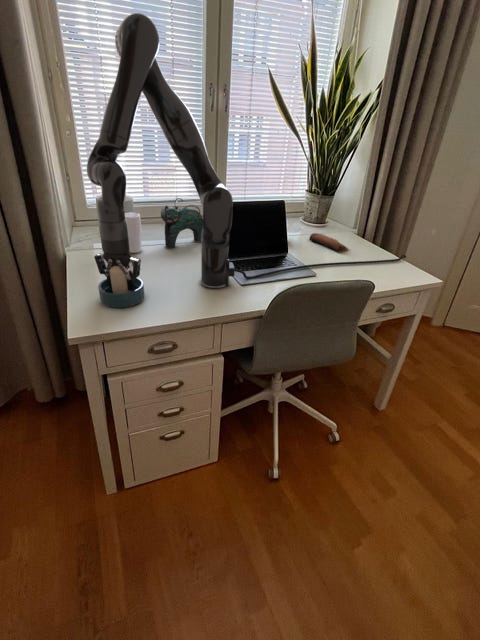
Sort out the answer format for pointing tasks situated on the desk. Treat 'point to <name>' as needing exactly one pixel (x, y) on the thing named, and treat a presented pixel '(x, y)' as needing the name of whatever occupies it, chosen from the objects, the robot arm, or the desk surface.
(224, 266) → the robot arm
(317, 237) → the brown tapered cylinder
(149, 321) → the desk surface
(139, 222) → the drinking glass
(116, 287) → the candle
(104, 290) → the bowl
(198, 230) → the ceramic cat
